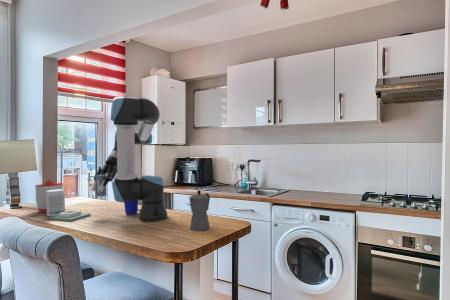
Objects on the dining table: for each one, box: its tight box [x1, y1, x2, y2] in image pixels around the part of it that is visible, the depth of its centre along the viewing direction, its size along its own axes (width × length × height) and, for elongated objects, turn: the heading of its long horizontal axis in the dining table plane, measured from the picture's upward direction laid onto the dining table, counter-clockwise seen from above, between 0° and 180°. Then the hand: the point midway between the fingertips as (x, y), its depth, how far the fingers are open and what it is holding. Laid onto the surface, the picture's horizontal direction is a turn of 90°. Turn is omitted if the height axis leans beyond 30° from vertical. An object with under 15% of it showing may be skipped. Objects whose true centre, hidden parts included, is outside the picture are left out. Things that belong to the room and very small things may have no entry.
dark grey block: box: [94, 174, 108, 197], centre depth 174 cm, size 4×4×12 cm
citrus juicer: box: [34, 179, 64, 214], centre depth 193 cm, size 16×17×20 cm
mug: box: [123, 200, 141, 215], centre depth 178 cm, size 8×12×10 cm
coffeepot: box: [188, 189, 211, 233], centre depth 142 cm, size 15×9×18 cm, turn 151°
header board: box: [48, 210, 92, 222], centre depth 171 cm, size 16×14×3 cm
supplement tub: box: [46, 188, 66, 217], centre depth 180 cm, size 10×10×15 cm
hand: (96, 190), depth 170 cm, fingers closed on dark grey block, 4 cm apart
